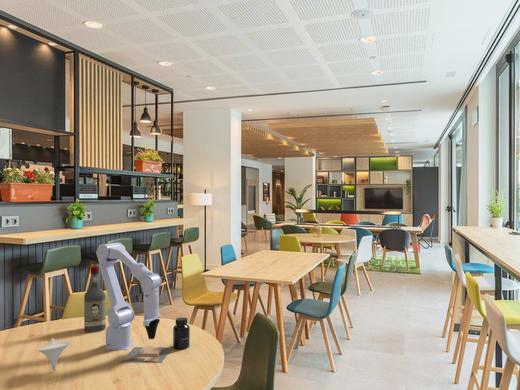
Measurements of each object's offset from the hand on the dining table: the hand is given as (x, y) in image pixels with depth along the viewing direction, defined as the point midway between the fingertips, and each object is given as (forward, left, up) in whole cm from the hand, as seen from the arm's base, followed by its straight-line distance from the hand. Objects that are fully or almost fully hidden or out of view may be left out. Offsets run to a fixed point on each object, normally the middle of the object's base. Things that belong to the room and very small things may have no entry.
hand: (151, 338), depth 164 cm
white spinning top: (-30, -18, -6) cm, 36 cm away
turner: (-2, -8, -6) cm, 10 cm away
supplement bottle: (+10, +7, -6) cm, 14 cm away
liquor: (-37, +30, -6) cm, 48 cm away
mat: (-1, -2, -6) cm, 6 cm away
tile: (0, +2, -5) cm, 5 cm away
